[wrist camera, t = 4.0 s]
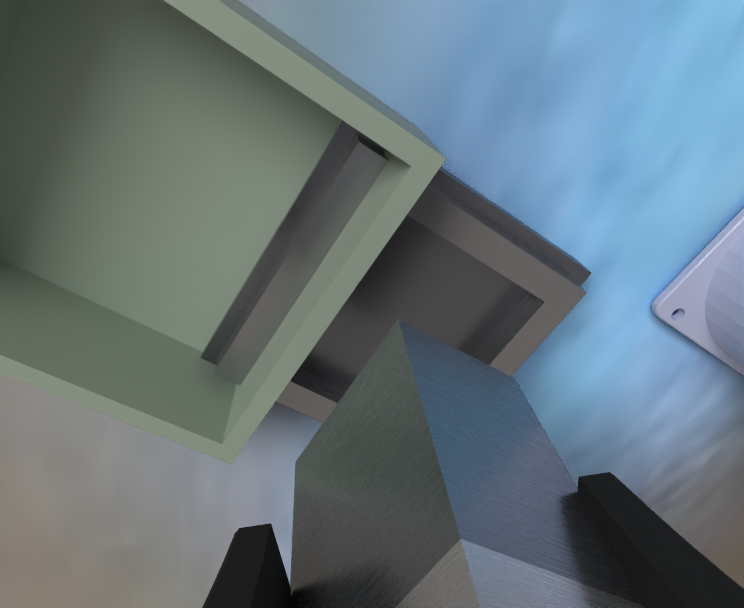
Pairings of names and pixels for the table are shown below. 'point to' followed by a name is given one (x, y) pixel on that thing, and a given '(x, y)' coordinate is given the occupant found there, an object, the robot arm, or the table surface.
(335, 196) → the socket block
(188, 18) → the bin
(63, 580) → the table surface
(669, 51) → the table surface
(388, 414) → the grey plug block
